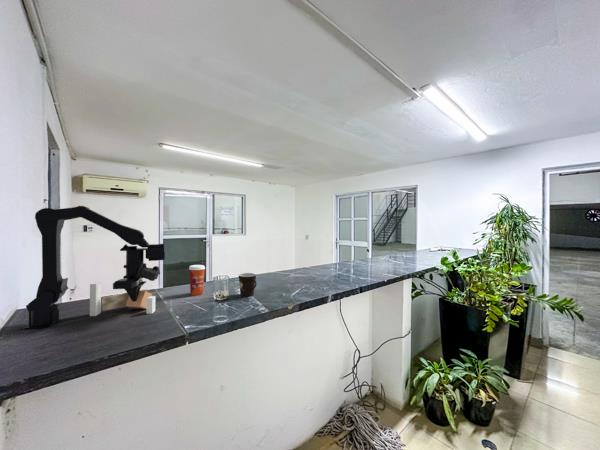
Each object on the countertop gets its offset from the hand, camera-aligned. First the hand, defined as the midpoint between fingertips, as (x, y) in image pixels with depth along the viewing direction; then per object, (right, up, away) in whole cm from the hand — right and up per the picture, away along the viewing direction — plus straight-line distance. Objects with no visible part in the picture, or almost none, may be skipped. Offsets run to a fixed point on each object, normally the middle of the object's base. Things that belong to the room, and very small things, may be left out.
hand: (134, 301), depth 96 cm
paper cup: (+14, -5, +26) cm, 30 cm away
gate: (-6, -3, +4) cm, 8 cm away
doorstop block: (0, -3, +2) cm, 4 cm away
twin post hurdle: (-4, -4, -2) cm, 6 cm away
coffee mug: (+39, -5, +24) cm, 46 cm away
